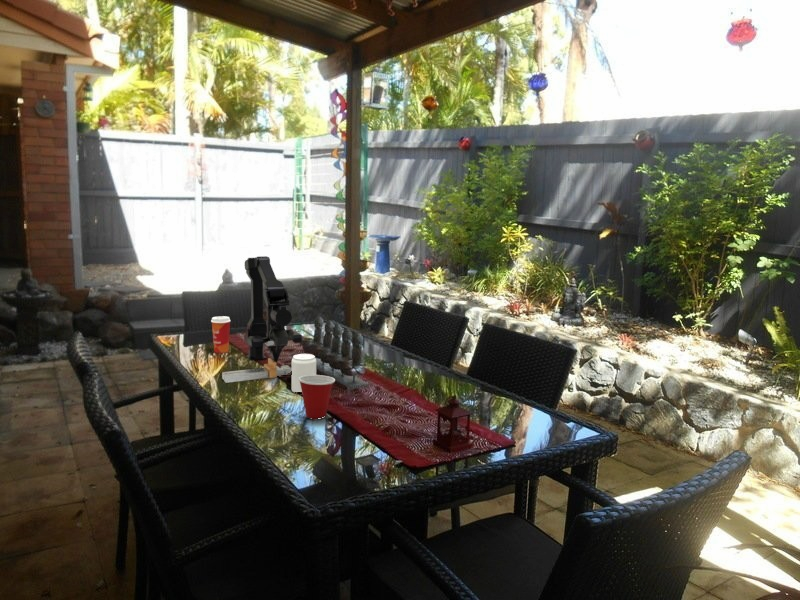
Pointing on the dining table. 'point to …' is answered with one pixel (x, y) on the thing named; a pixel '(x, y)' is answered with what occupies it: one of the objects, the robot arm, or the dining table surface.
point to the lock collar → (271, 368)
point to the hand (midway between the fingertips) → (275, 362)
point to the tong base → (255, 374)
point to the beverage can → (302, 369)
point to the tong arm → (242, 371)
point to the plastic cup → (316, 394)
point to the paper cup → (221, 333)
